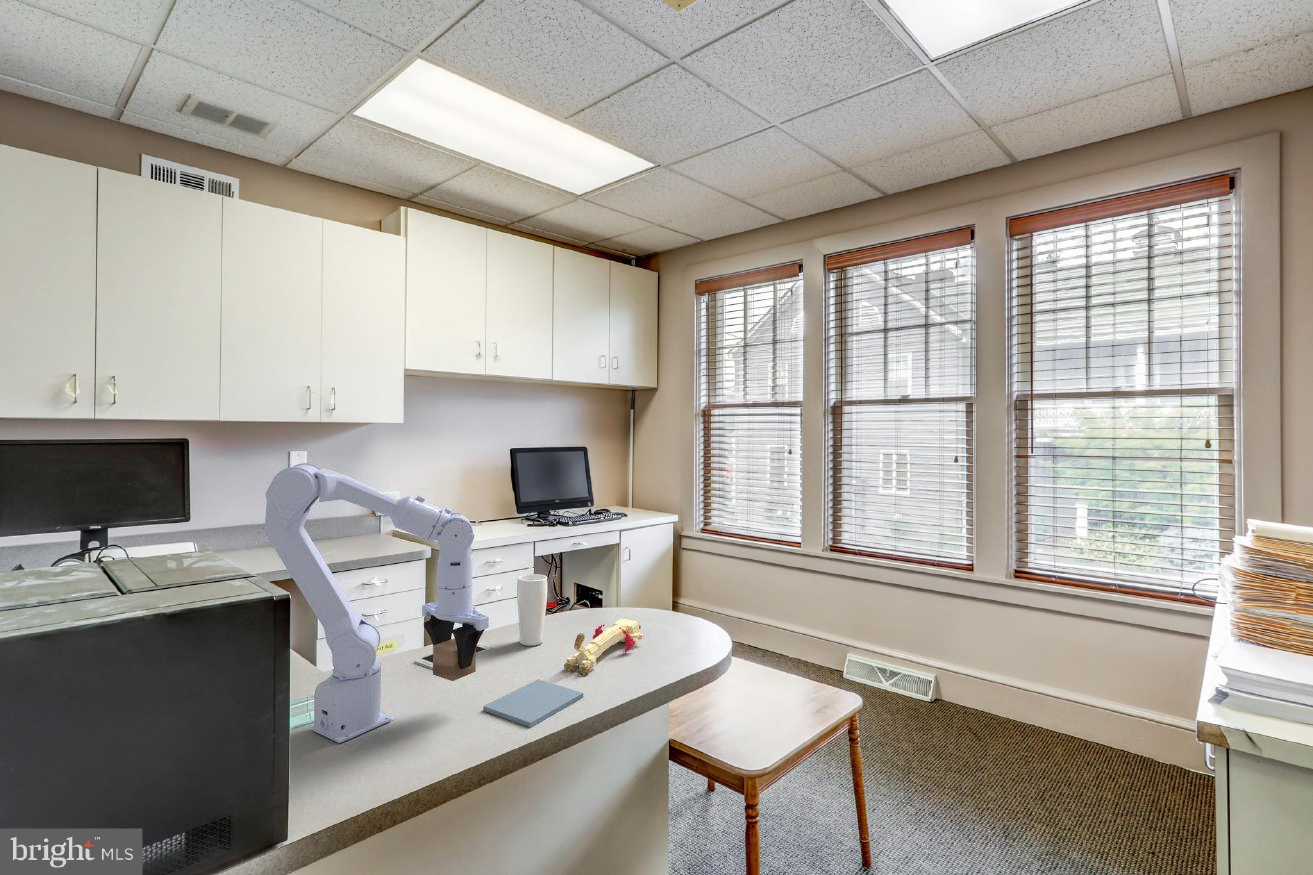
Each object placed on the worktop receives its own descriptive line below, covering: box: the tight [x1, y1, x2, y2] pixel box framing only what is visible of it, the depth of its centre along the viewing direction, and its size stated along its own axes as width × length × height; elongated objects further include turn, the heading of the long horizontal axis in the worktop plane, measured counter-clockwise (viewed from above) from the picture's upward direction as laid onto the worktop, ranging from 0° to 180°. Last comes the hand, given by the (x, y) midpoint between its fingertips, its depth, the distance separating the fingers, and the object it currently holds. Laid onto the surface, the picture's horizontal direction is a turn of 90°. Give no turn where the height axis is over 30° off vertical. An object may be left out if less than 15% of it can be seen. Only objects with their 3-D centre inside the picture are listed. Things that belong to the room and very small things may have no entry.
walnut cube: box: [432, 638, 477, 682], centre depth 110 cm, size 5×5×5 cm
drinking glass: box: [516, 573, 548, 647], centre depth 145 cm, size 7×7×15 cm
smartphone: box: [413, 641, 494, 671], centre depth 137 cm, size 7×16×1 cm, turn 146°
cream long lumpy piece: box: [563, 618, 644, 676], centre depth 139 cm, size 10×9×25 cm
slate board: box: [482, 679, 584, 728], centre depth 114 cm, size 14×11×1 cm
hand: (454, 663), depth 110 cm, fingers closed on walnut cube, 5 cm apart
